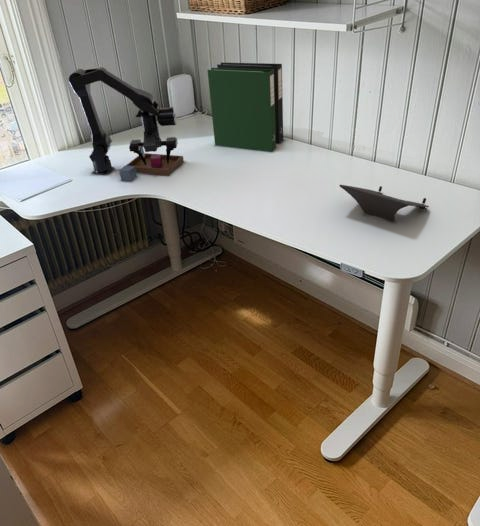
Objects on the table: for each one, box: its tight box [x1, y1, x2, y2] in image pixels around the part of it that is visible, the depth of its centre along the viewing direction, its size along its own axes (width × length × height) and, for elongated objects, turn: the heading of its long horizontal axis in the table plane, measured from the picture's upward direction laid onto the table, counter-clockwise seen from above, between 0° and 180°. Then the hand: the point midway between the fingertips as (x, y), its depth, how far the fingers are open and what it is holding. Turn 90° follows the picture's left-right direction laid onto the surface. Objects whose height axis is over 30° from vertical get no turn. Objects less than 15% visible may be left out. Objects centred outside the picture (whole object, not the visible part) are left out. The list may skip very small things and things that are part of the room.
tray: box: [126, 152, 185, 177], centre depth 199 cm, size 19×14×3 cm
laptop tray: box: [339, 184, 430, 223], centre depth 154 cm, size 23×23×9 cm
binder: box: [206, 62, 284, 153], centre depth 206 cm, size 27×15×32 cm, turn 66°
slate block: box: [118, 164, 138, 182], centre depth 191 cm, size 4×4×4 cm
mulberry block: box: [150, 153, 163, 168], centre depth 198 cm, size 4×4×4 cm
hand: (157, 164), depth 199 cm, fingers open, 9 cm apart
